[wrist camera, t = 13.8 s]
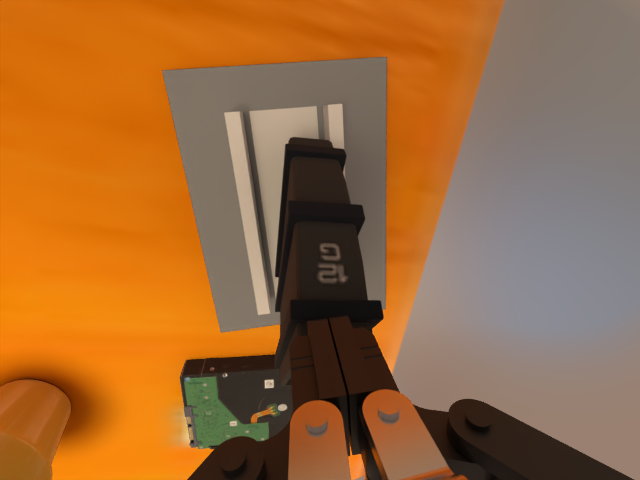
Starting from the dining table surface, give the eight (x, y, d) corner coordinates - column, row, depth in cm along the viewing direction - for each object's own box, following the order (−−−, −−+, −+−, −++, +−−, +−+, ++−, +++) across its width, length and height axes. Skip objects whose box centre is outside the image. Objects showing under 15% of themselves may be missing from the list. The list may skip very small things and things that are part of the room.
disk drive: (329, 345, 35) (184, 356, 33) (334, 364, 32) (176, 377, 30) (326, 416, 39) (195, 431, 36) (330, 438, 36) (190, 455, 34)
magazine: (349, 95, 20) (389, 348, 12) (315, 216, 31) (324, 387, 24) (288, 87, 19) (290, 350, 12) (275, 214, 30) (272, 389, 23)
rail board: (166, 72, 23) (149, 65, 20) (382, 59, 25) (399, 50, 22) (222, 326, 31) (216, 350, 28) (382, 303, 33) (394, 324, 30)
